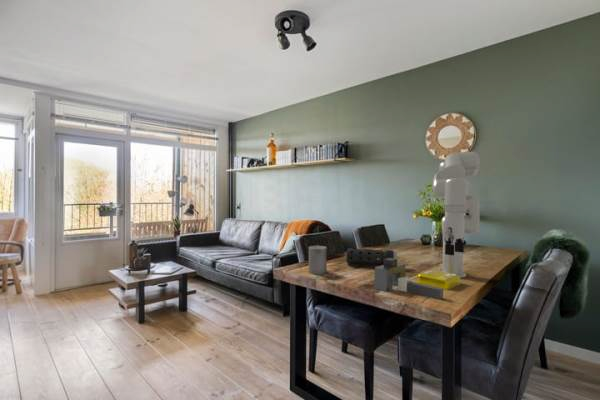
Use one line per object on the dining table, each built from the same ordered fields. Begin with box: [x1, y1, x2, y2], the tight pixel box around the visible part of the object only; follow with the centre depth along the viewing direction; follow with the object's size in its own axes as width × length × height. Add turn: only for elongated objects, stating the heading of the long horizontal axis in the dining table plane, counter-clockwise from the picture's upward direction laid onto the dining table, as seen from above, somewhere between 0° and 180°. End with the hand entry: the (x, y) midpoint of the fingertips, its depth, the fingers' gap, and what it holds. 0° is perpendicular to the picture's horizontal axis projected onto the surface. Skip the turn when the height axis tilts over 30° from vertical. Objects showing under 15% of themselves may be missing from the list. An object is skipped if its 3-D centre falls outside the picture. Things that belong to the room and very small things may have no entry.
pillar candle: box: [308, 244, 328, 275], centre depth 166 cm, size 10×10×15 cm
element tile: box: [417, 269, 461, 290], centre depth 147 cm, size 15×15×5 cm
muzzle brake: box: [346, 247, 398, 267], centre depth 180 cm, size 10×28×10 cm, turn 73°
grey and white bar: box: [397, 276, 444, 301], centre depth 131 cm, size 4×18×5 cm, turn 44°
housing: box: [374, 258, 406, 292], centre depth 141 cm, size 16×6×12 cm, turn 134°
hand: (454, 253), depth 121 cm, fingers open, 9 cm apart
